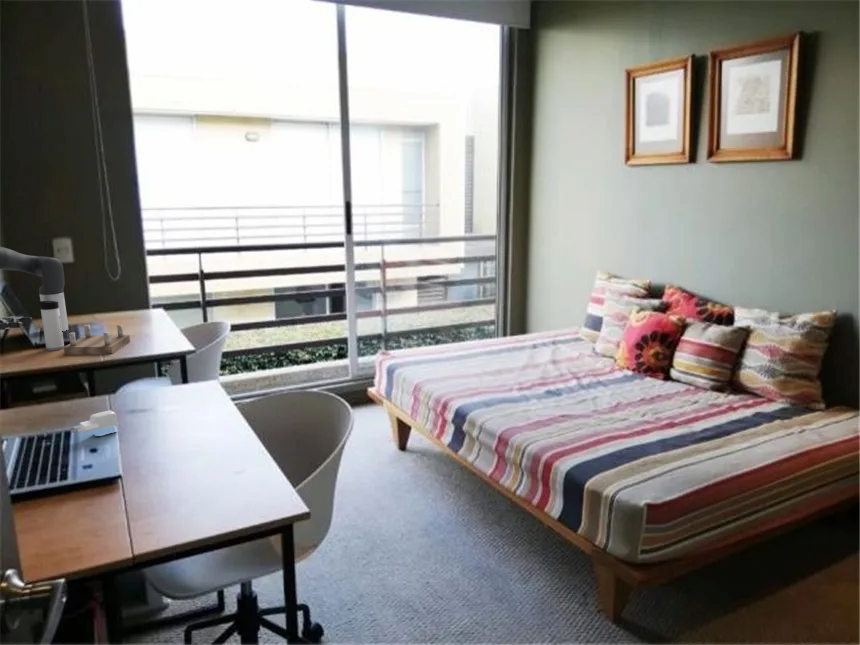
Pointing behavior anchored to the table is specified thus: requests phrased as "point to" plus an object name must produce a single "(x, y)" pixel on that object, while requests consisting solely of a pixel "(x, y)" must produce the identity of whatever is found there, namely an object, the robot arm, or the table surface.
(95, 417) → the power adapter
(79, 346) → the peg stand
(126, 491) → the table surface
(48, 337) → the travel mug
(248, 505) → the table surface
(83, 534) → the table surface
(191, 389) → the table surface
